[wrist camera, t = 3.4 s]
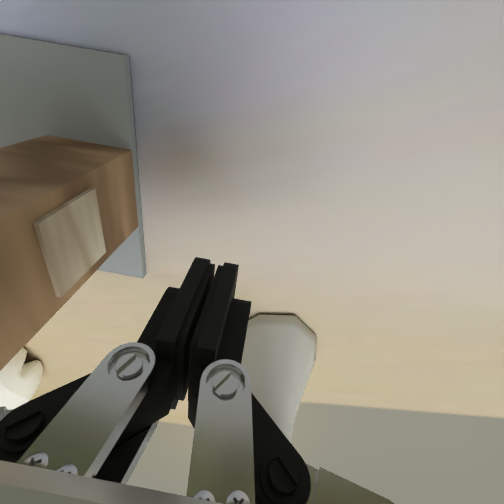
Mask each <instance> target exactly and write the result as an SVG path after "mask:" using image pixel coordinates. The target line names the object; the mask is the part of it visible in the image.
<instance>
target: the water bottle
mask: <svg viewBox="0 0 504 504" xmlns="http://www.w3.org/2000/svg"><path fill="white" fill-rule="evenodd" d="M26 355H27V350H25V348H22V349H21V350H20V351H19V352H18V353H17V354H16V355H15V356H14V357H13V358H12V359H11V360H10V361H9V362H8V364H7V365H6V366H5V367H4V368H3V369H2V370H1V371H0V407H4V406H6V408H7V410H12V409H15V408H17V407H19V406H21V405H22V404H24V403H27V402H28V401H29V400H30V399H31V397H32V396H33V395H34V393H35V391H36V389H37V387H38V385H39V383H40V380H41V377H42V373H43V366H42V364H41V362H40V361H38V360H34V361H31V362H28V363H25V364H24V361H25V358H26Z"/></svg>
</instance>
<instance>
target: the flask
mask: <svg viewBox="0 0 504 504" xmlns="http://www.w3.org/2000/svg"><path fill="white" fill-rule="evenodd" d="M316 340H317V336H316V335H315V334H314V333H313V332H312V331H311V330H310V329H309V328H308V327H307V326H306V325H305V324H304V323H303V322H301V321H300V320H299V319H298V318H297V317H296V316H294V315H258V316H256V317H254V318H252V319H250V320H248V326H247V332H246V338H245V344H244V350H243V356H242V362H241V365H242V366H243V367H244V368H246V370H247V372H248V373H249V375H250V380H251V392H252V394H253V395H254V396H255V397H256V399H257V400H258V401H259V403H260V404H261V405H262V407H263V408H264V409H265V410H266V412H267V413H268V414H269V416H270V417H271V418H272V420H273V421H274V422H275V423H276V425H277V426H278V427H279V429H280V430H281V431H282V433H283V434H284V435H285V436H286V438H287V439H288V440H289V442H290V443H291V437H292V430H293V424H294V420H295V416H296V413H297V410H298V407H299V404H300V401H301V398H302V395H303V392H304V389H305V386H306V384H307V381H308V378H309V376H310V373H311V370H312V368H313V365H314V362H315V358H316Z"/></svg>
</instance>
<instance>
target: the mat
mask: <svg viewBox="0 0 504 504" xmlns="http://www.w3.org/2000/svg"><path fill="white" fill-rule="evenodd" d="M45 135H50V136H56V137H61V138H67V139H73V140H78V141H84V142H90V143H95V144H101V145H107V146H112V147H118V148H124V149H129V150H132V159H133V171H134V182H135V193H136V204H137V216H138V227H137V228H136V229H135V230H134V231H133V233H132V234H131V235H130V236H129V237H128V238H127V239H126V240H125V241H124V242H123V243H122V244H121V245H120V246H119V247H118V248H117V249H116V250H115V251H114V252H113V253H112V255H111V256H110V257H109V258H108V259H107V260H106V261H105V262H104V263H103V264H102V265H101V266H100V267H99V268H98V269H97V270H100V271H106V272H111V273H117V274H122V275H127V276H133V277H138V278H144V276H145V275H146V262H145V249H144V237H143V224H142V212H141V199H140V187H139V174H138V161H137V149H136V136H135V124H134V111H133V99H132V86H131V74H130V61H129V56H127V55H121V54H115V53H109V52H103V51H98V50H92V49H86V48H80V47H74V46H68V45H62V44H57V43H51V42H45V41H39V40H33V39H27V38H21V37H16V36H10V35H4V34H0V148H2V147H6V146H9V145H13V144H16V143H20V142H23V141H27V140H30V139H34V138H38V137H41V136H45Z"/></svg>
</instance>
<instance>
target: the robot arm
mask: <svg viewBox="0 0 504 504" xmlns="http://www.w3.org/2000/svg"><path fill="white" fill-rule="evenodd" d="M238 266H239V265H236V264H231V263H224V266H221V265H218V268H217V271H216V273H215V276H214V270H215V264H210V260H208V259H203V258H197V257H196V258H195V259H194V261H193V263H192V265H191V267H190V269H189V271H188V273H187V275H186V277H185V279H184V281H183V283H182V285H181V287H180V289H179V288H173V287H168V288H167V290H166V291H165V293H164V295H163V297H162V298H161V300H160V302H159V304H158V306H157V307H156V309H155V311H154V313H153V315H152V316H151V318H150V320H149V322H148V324H147V325H146V327H145V329H144V331H143V332H142V334H141V336H140V338H139V340H138V341H137V342H133V343H126V344H123V345H120V346H118V347H116V348H115V349H113V350H112V351H111V352H110V353H109V354H107V355H106V357H105V358H104V359H103V360H102V361H101V363H100V364H99V365H98V366H97V367H96V369H95V370H94V371H93V372H92V373H90V374H88V375H86V376H84V377H82V378H79V379H77V380H75V381H73V382H71V383H68V384H66V385H64V386H62V387H60V388H57V389H55V390H53V391H51V392H49V393H46V394H44V395H42V396H40V397H38V398H35V399H33V400H31V401H29V402H27V403H24V404H22V405H21V406H19V407H17V408H15V409H12V410H7V408H6V406H4V407H0V504H394V503H393V502H391V501H390V500H389V499H386V498H384V497H382V496H380V495H378V494H376V493H374V492H372V491H370V490H367V489H365V488H363V487H361V486H359V485H357V484H355V483H353V482H350V481H349V480H346V479H344V478H342V477H340V476H338V475H336V474H334V473H332V472H329V471H327V470H325V469H323V468H321V467H320V468H319V469H316V468H314V467H312V466H310V465H308V464H306V463H305V462H304V460H303V459H302V457H301V456H300V455H299V453H298V452H297V451H296V450H295V448H294V447H293V446H292V444H291V443H290V442H289V440H288V439H287V438H286V436H285V435H284V434H283V433H282V431H281V430H280V429H279V427H278V426H277V425H276V423H275V422H274V421H273V420H272V418H271V417H270V416H269V414H268V413H267V412H266V410H265V409H264V408H263V407H262V405H261V404H260V403H259V401H258V400H257V399H256V397H255V396H254V395H253V394H252V392H251V380H250V375H249V373H248V372H247V370H246V368H244V367H243V366H242V365H241V362H242V356H243V350H244V344H245V338H246V332H247V326H248V320H249V314H250V308H251V302H250V301H245V300H239V299H234V295H235V288H236V281H237V274H238ZM187 390H188V402H189V404H188V418H189V420H190V422H191V424H192V426H193V427H194V429H195V431H194V439H193V446H192V454H191V463H190V472H189V479H188V488H187V496H181V495H176V494H171V493H166V492H161V491H156V490H151V489H146V488H141V487H136V486H130V485H126V484H127V482H128V480H129V478H130V476H131V474H132V473H133V470H134V469H135V467H136V465H137V463H138V461H139V459H140V457H141V455H142V454H143V452H144V450H145V448H146V446H147V444H148V442H149V440H150V438H151V437H152V434H153V433H154V431H155V429H156V427H157V424H158V422H159V419H161V418H163V417H164V416H166V415H168V414H169V411H170V409H175V408H176V406H177V403H178V400H184V399H185V396H186V393H187Z"/></svg>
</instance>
